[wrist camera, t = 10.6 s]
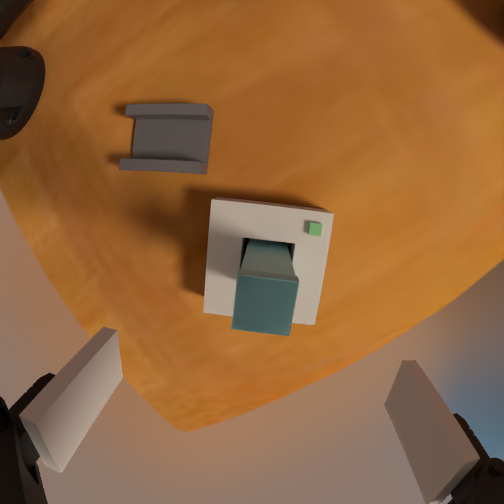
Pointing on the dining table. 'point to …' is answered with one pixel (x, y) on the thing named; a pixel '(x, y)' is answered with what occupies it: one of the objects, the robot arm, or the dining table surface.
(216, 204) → the port
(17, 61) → the robot arm
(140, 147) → the grey u-shaped block
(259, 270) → the plug
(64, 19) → the dining table surface
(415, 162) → the dining table surface
